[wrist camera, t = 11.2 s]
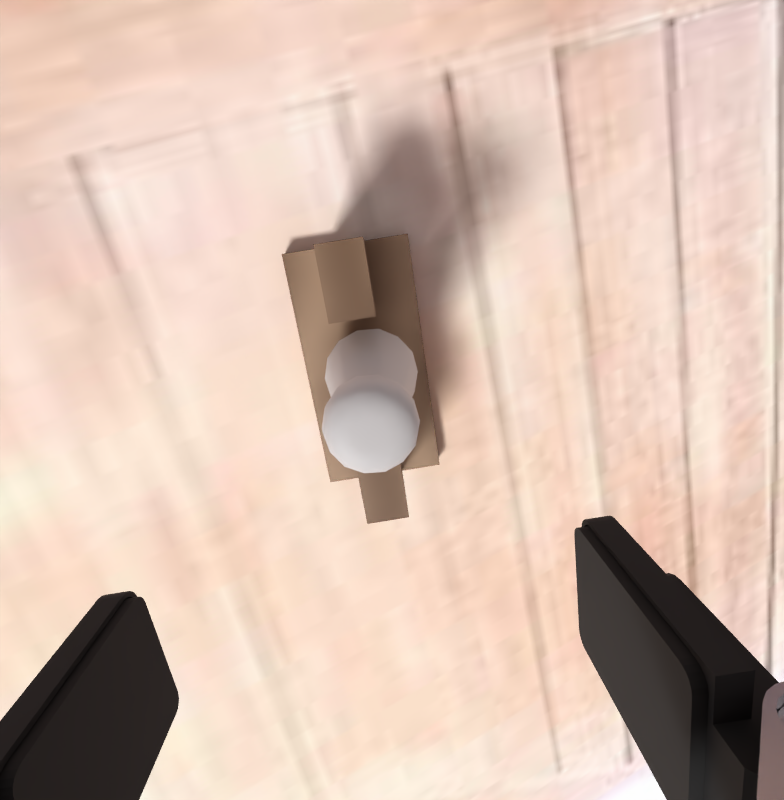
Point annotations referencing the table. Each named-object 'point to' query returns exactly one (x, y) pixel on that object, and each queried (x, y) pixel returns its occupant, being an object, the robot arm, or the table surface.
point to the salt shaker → (371, 401)
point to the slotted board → (362, 310)
